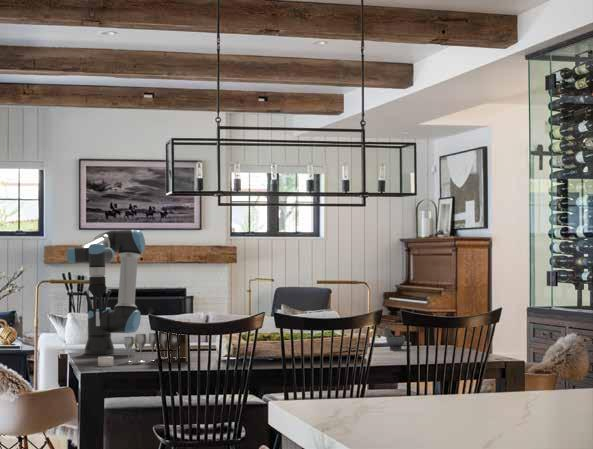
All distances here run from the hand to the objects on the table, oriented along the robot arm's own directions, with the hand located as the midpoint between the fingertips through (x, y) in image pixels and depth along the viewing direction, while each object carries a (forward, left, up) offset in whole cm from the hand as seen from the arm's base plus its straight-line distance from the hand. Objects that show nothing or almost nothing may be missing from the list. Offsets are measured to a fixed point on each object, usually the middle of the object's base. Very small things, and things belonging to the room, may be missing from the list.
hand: (97, 325), depth 454 cm
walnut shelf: (+1, +35, -17) cm, 39 cm away
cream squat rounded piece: (+14, +5, -17) cm, 23 cm away
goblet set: (-1, +26, -18) cm, 31 cm away
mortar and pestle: (-33, +149, -18) cm, 154 cm away
